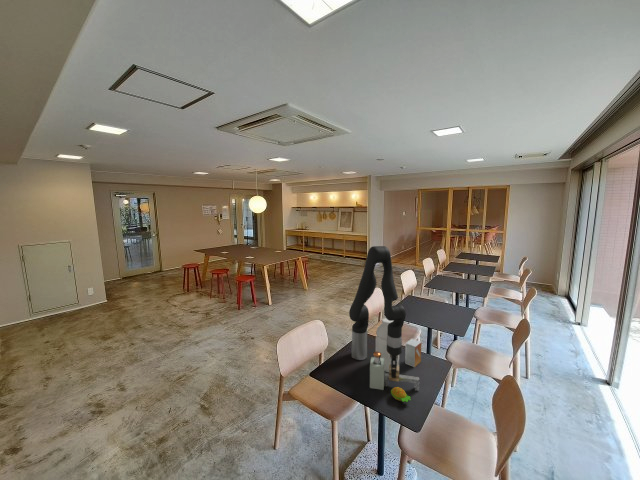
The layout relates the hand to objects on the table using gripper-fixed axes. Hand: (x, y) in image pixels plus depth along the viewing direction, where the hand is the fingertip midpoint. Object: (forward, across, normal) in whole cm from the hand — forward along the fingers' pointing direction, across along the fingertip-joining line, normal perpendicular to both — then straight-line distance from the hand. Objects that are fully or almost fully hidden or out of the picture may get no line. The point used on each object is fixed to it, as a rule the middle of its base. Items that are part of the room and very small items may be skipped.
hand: (393, 372), depth 139 cm
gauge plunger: (0, 0, -8) cm, 8 cm away
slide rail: (+8, 0, +4) cm, 8 cm away
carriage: (+3, 0, 0) cm, 3 cm away
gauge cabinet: (+8, 0, -8) cm, 11 cm away
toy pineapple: (+8, +10, +3) cm, 13 cm away
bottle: (+8, -18, -3) cm, 20 cm away
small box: (+8, -24, +12) cm, 28 cm away
